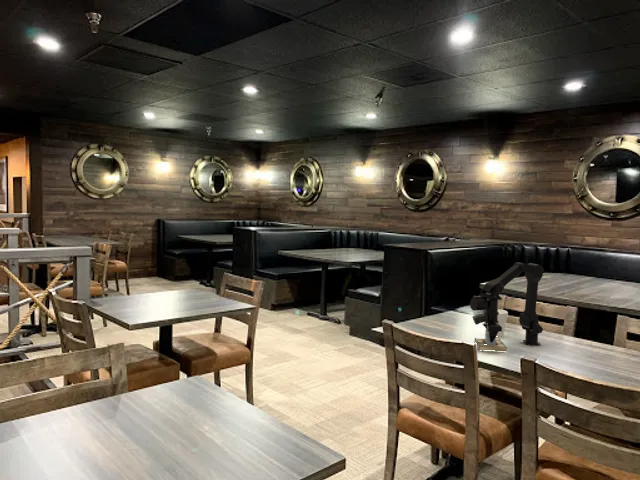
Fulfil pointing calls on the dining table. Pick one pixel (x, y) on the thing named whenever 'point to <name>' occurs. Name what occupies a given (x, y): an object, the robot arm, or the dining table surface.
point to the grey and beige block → (487, 339)
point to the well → (497, 347)
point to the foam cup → (502, 321)
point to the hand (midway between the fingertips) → (490, 340)
